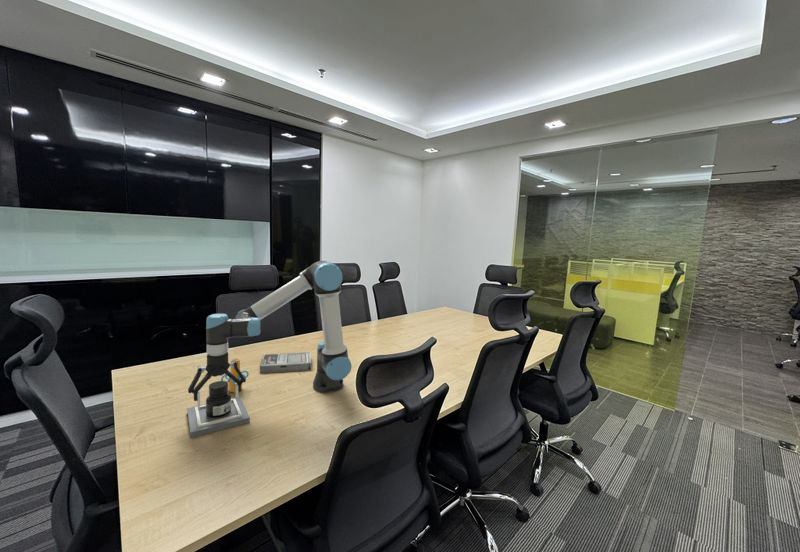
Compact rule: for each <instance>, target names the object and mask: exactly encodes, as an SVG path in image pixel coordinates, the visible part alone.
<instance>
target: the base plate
mask: <svg viewBox="0 0 800 552" xmlns="http://www.w3.org/2000/svg"><path fill="white" fill-rule="evenodd" d="M242 399H243V398H242V397H241V396H238V401H236V399H235V397H234V398H231V411H230V412H229V413H228V414H226V415H224V416H222V417H217V418H212V417H208V416H207V415H206V403H205V404H200V409H198V408H197V405H195V406H193V407H188V408H187V411H186V412H187V419H188V427H189V428H188V429H189V435H190V437H189V438H195V437H199V436H202V435H207V434H209V433H210V434H211V433H215V432H218V431H222V430H226V429H229V428H234V427H236V426H237V427H238V426H240V425H245V424H248V423H250V422H251V419H250V418H251V416H250V415H249V413H248V410H247V408H246V406H245V403H244V402H243V400H242Z"/></svg>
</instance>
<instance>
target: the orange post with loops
mask: <svg viewBox="0 0 800 552" xmlns="http://www.w3.org/2000/svg"><path fill="white" fill-rule="evenodd" d="M233 361H236V362H237V367H238V368H239V370H240V372H241V373H242V375H243V376H244V378H245V380H246V381H247V378H248V377H249V371H248V370H242V371H241V359H240V358H238V357H236V358H232V359H230V363H232V362H233ZM228 371H229V370H228ZM229 372H231V373H232V374H233V375H234V376H235V377H237V378H238V379H239V380H240V379H241V378H240V377H239V375H238V373H237V372H236V370H235V369H234V368H232V366H230V371H229ZM244 373H246V375H245V374H244ZM224 378H225V379H226V382H228V393H229V392H230V393H235V383H236V382H235V381H233V380H232V379H231V378H230V377H229V376H227V375H226V374H223V375H221V379H220V381H224ZM242 390H243V383H242V384H241V391H242Z"/></svg>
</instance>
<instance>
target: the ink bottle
mask: <svg viewBox="0 0 800 552" xmlns="http://www.w3.org/2000/svg"><path fill="white" fill-rule="evenodd" d="M226 381H227V380H226ZM226 381H225V380H223V381H221V380H218V381H213V382H212V383H210V384H209V385H208V396H207V397H206V399H205V404H206V415H207V416H208V417H212V418H217V417H222V416H224V415H226V414H228V413H229V412H230V411H231V399H232V395H231V394H230V393H229V391H228V382H226Z"/></svg>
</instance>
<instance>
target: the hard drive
mask: <svg viewBox="0 0 800 552" xmlns="http://www.w3.org/2000/svg"><path fill="white" fill-rule="evenodd" d="M311 364H312V362H311V352H309V351H307V352H287V353H285V352H283V353H268V354H263V355H262V357H261V361H260V364H259V373H260V374H265V373H266V374H269V373H283V372H298V371H312V365H311Z"/></svg>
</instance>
